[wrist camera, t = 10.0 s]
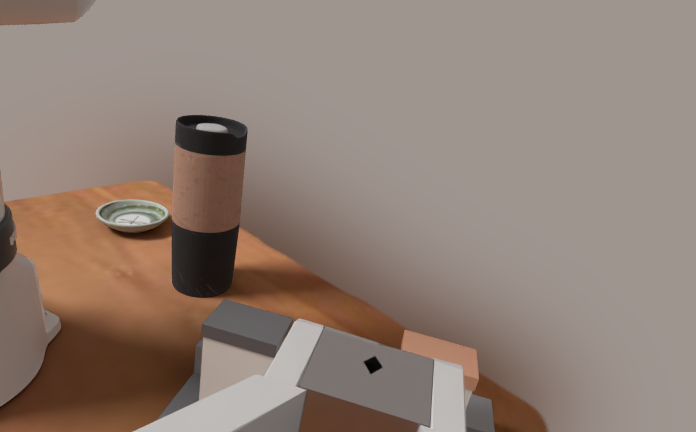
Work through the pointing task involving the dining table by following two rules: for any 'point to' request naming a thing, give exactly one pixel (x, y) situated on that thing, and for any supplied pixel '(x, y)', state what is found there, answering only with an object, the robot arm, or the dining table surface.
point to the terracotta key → (445, 356)
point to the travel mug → (206, 202)
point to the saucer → (132, 215)
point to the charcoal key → (238, 344)
